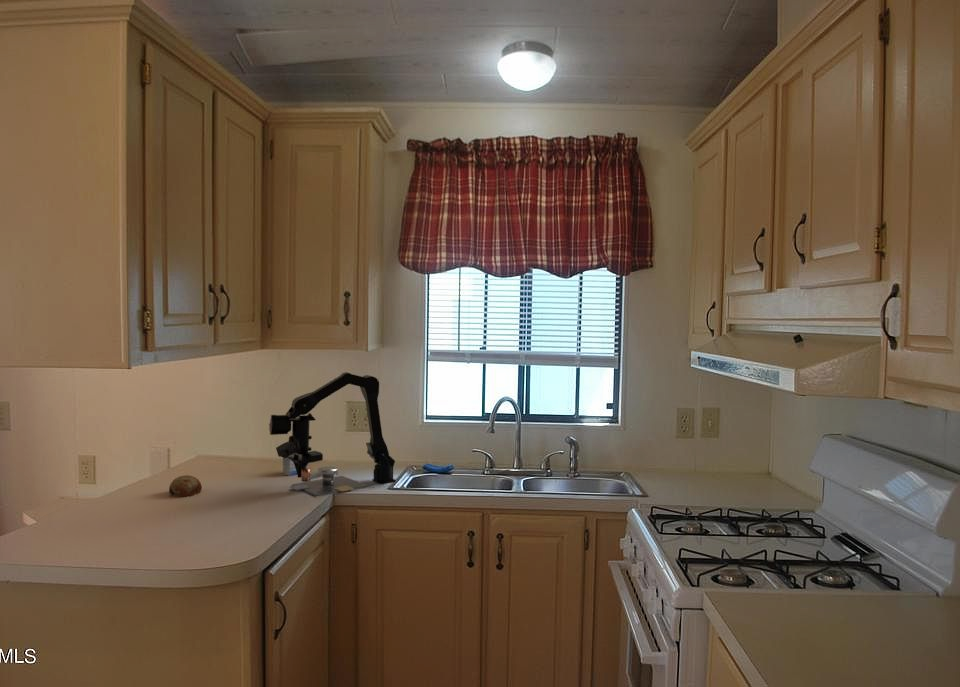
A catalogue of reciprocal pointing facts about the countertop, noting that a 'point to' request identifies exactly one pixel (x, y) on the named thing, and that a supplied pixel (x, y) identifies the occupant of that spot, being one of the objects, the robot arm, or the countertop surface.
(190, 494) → the bread roll
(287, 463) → the medicine box
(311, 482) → the post base
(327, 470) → the collar lever
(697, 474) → the countertop surface
